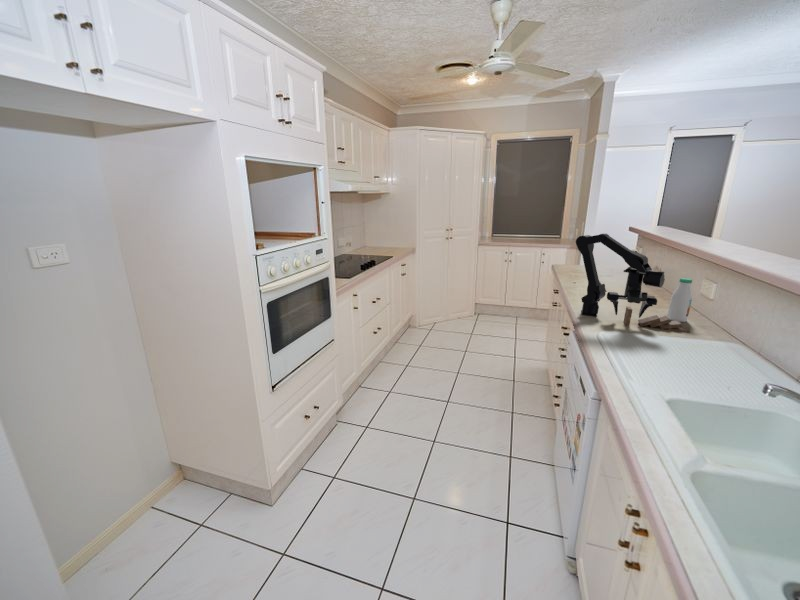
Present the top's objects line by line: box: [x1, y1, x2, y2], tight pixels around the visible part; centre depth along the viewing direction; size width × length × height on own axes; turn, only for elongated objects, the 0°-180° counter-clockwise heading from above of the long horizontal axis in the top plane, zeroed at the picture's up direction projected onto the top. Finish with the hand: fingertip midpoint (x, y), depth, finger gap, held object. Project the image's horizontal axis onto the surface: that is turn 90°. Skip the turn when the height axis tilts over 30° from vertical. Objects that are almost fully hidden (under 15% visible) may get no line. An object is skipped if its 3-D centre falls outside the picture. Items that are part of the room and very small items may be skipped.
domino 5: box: [666, 326, 691, 333], centre depth 156 cm, size 2×5×8 cm
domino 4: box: [658, 320, 683, 330], centre depth 156 cm, size 2×5×8 cm
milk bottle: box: [666, 277, 693, 323], centre depth 166 cm, size 8×8×20 cm
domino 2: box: [637, 314, 661, 327], centre depth 159 cm, size 2×5×8 cm
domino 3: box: [649, 315, 672, 329], centre depth 158 cm, size 2×5×8 cm
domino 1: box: [623, 305, 633, 326], centre depth 161 cm, size 2×5×8 cm, turn 157°
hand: (627, 316), depth 162 cm, fingers open, 9 cm apart
